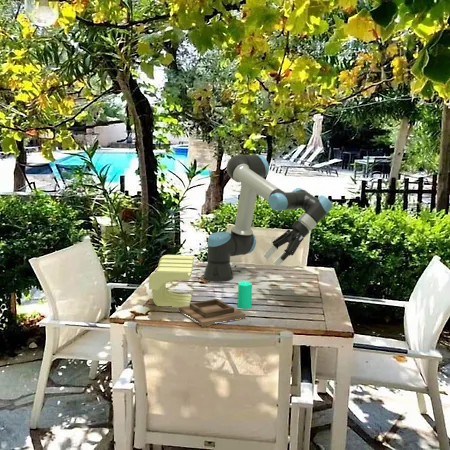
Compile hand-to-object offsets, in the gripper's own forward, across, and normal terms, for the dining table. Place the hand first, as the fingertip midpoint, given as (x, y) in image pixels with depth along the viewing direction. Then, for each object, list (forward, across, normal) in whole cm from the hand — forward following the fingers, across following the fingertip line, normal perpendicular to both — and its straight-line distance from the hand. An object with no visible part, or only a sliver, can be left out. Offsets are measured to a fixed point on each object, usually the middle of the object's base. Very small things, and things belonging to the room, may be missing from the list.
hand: (270, 261), depth 222 cm
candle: (+22, +1, -6) cm, 23 cm away
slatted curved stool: (+43, +13, +15) cm, 47 cm away
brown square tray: (+34, -7, +5) cm, 35 cm away
